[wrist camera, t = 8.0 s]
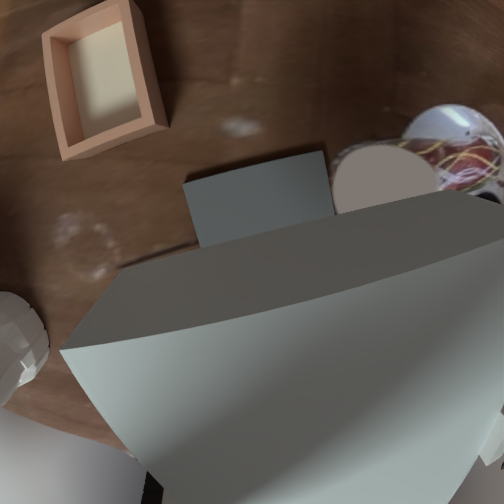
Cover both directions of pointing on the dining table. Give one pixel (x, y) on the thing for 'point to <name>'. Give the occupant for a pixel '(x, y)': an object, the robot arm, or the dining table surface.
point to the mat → (259, 198)
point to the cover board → (309, 357)
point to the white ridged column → (19, 344)
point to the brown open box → (102, 80)
